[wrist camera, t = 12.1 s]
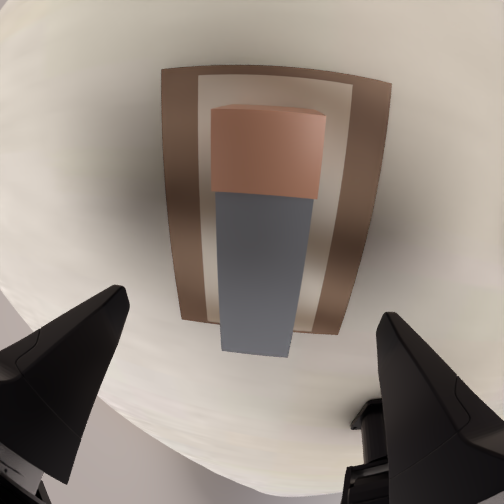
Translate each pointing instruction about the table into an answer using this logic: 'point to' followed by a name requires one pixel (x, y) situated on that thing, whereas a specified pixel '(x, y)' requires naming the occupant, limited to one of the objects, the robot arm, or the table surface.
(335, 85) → the writing board
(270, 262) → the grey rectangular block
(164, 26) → the table surface
